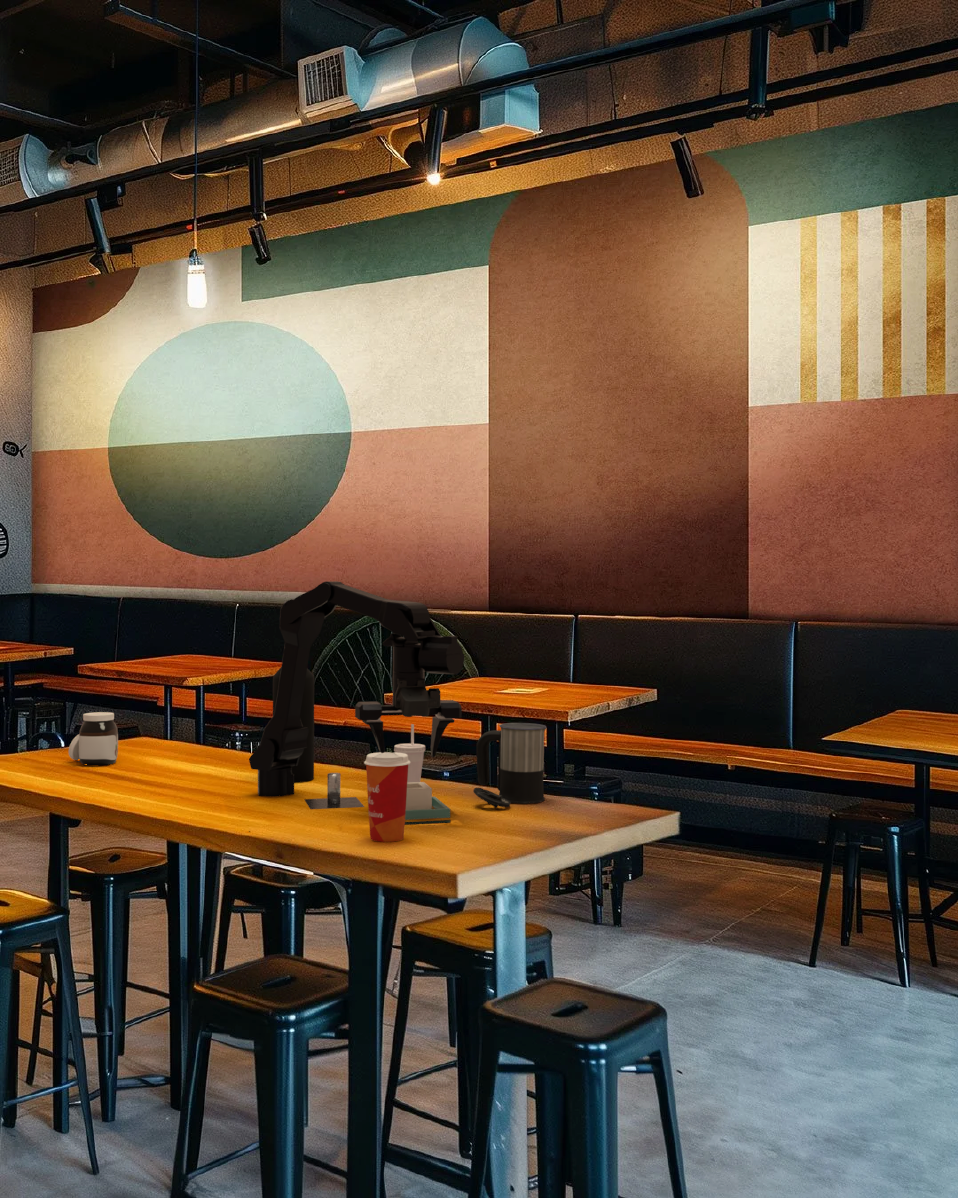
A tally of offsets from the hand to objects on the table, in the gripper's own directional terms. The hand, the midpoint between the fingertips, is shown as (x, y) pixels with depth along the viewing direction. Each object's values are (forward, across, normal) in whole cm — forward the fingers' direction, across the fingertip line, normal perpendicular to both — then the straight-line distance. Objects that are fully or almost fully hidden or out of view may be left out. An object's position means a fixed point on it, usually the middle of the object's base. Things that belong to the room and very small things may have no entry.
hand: (408, 757), depth 217 cm
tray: (+11, 0, 0) cm, 11 cm away
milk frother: (+11, +22, +9) cm, 26 cm away
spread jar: (+11, -59, +79) cm, 99 cm away
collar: (+10, 0, 0) cm, 10 cm away
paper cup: (+11, -7, -16) cm, 21 cm away
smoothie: (+11, +5, +24) cm, 27 cm away
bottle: (+11, -16, +46) cm, 50 cm away
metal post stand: (+11, -12, +12) cm, 20 cm away
